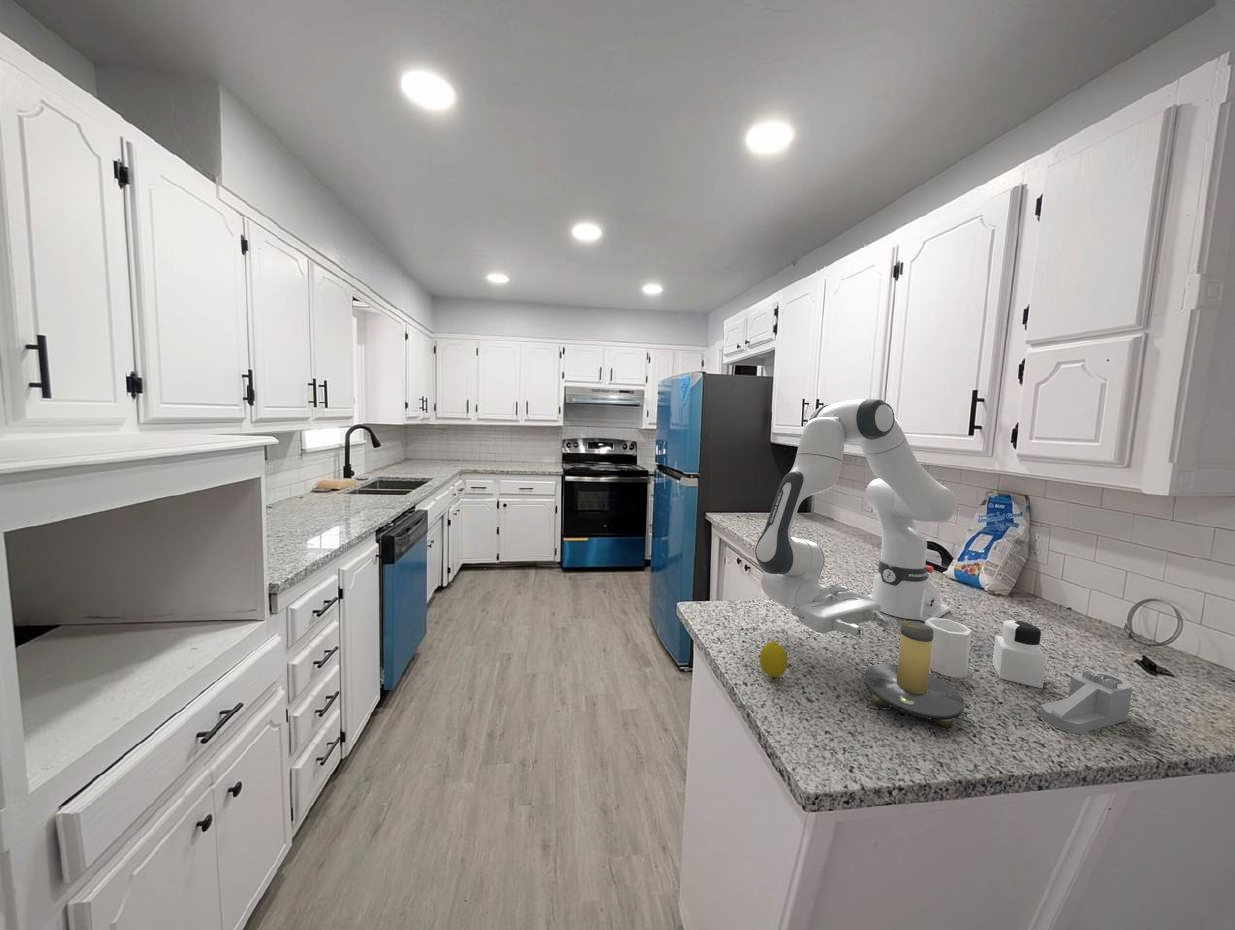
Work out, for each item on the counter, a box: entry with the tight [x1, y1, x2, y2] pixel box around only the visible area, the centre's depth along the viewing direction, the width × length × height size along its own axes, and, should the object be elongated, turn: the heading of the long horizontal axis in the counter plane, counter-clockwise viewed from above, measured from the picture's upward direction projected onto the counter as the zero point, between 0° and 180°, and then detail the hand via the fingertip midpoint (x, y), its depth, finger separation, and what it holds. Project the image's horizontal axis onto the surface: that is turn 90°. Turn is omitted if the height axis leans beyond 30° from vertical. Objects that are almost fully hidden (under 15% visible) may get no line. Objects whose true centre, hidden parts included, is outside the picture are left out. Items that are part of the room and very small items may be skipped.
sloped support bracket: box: [1039, 669, 1133, 735], centre depth 83 cm, size 6×18×8 cm, turn 107°
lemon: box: [759, 641, 788, 679], centre depth 94 cm, size 6×6×8 cm
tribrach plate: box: [864, 663, 965, 730], centre depth 86 cm, size 16×16×4 cm
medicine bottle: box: [992, 619, 1047, 689], centre depth 97 cm, size 7×7×12 cm
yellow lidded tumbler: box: [897, 620, 934, 694], centre depth 85 cm, size 5×5×12 cm
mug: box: [924, 617, 973, 679], centre depth 99 cm, size 12×9×10 cm
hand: (873, 627), depth 92 cm, fingers open, 8 cm apart
